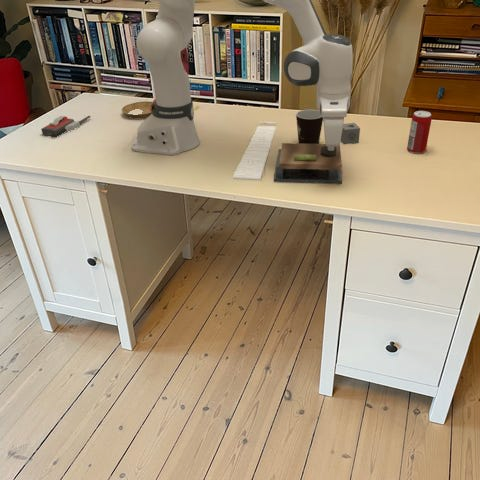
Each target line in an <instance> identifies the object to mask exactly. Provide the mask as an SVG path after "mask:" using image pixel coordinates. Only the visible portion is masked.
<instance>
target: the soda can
mask: <svg viewBox="0 0 480 480" xmlns="http://www.w3.org/2000/svg"><path fill="white" fill-rule="evenodd" d="M432 119H433V118H432V114H431V112H429V111H425V110H417V111H415V112H413V115H412V118H411V123H410V129H409V134H408V141H407V146H406V149H407V150H408V152H409V153H412V154H417V155H418V154H419V155H420V154H422V153H425V152H426V150H427V146H428V141H429V134H430V131H431V124H432Z"/></svg>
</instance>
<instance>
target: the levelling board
mask: <svg viewBox="0 0 480 480" xmlns="http://www.w3.org/2000/svg"><path fill="white" fill-rule="evenodd" d="M280 149H281V155H280V161H279V169H324V170H342V167H343V163H342V161H343V160H342V152H341V151H342V150H341V144H340V145H339V146H334V150H333V151H329V150H328V146H326V144H325V143H319V144H299V142H298V143H295V142H294V143H291V142H290V143H289V142H287V143H285V142H282V143H281V148H280Z"/></svg>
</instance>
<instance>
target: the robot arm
mask: <svg viewBox="0 0 480 480" xmlns="http://www.w3.org/2000/svg"><path fill="white" fill-rule="evenodd" d="M262 1H263V2H265V3H267V4H269V5H273V6H276V7H279V8H281V9H283V10H285V11H286V12H287V13H288V14H289V15H290V16H291V18H292V19H293V22H294V24H295V26H296V28H297V30H298V32H299V34H300V37H301V39H302V42H303V45H302V46H299V47H297V48H295V49H293V50H292V51H290V52H289V53H288V54H287V55H286V57H285V58H284V62H283V73H284V75H285V77H286V79H287V80H288V82H290V83H291V84H292V85H294V86H298V87H308V86H313V85H314V86H316V105H315V106H316V108H317V110H318V111H320V113H321V117H323V122H322V123H323V130H324V131H323V132H324V142H325V143H324V144H326V146H328V150H329V151H333V150H334V146H339V145H340V146H341V136H342V130H343V124H345V118H346V117H347V114H348V111H349V108H350V106H351V105H350V104H351V95H352V85H351V78H352V74H353V66H354V65H353V64H354V62H353V60H354V59H353V58H354V55H353V45H352V41H351V40H350V39H349V38H348V37H346V36H344V35H342V34H337V33H335V34H333V33H327V32H326V30H325V28H324V26H323V24H322V21H321V20H320V18H319V16H318V13H317V11H316V7H315V6H314V4H313V1H312V0H262ZM195 6H196V0H158V9H157V11H158V12H157V15H156V17H155V19H154V20H152V21H150V22H148V23H147V24H145V25H144V26H143V27H142V28H141V30H140V31H139V33H138V35H137V37H136V42H135V43H136V49H137V51H138V54H139V55H140V57H142V59H143V60H145V62H146V64H147V66H148V70H149V72H150V75H151V79H152V83H153V90H154V96H155V97H154V99H153V100H152V101H151V102H152V105H151V107H150V112H152V114H151V115H150V116H149V117H148V118H145V119H144V120H143V121H142V122H141V123H140V124H139V126H138V128H137V134H136V137H135V138H134V139H133V140H132V142H131V145H130V146H131V150H132V152H139V153H148V154H150V153H151V154H157V155H158V154H159V155H167V156H175V155H177V154H180V153H182V152H186V151H189V150H192V149H194V148H197V147H198V146H199V144H200V143H201V140H200V137H199V136H198V132H197V129H196V124H195V121H194V120H195V119H194V117H195V111H194V110H195V108H194V101H193V100H192V96H191V85H190V77H189V74H188V72H186V70H185V67H184V65H183V61H182V57H181V51H183V50H185V49H186V48H187V47H188V46H189V44H190V43H191V41H192V39H193V35H194V27H193V25H194V14H195Z"/></svg>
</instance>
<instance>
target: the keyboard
mask: <svg viewBox="0 0 480 480" xmlns="http://www.w3.org/2000/svg"><path fill="white" fill-rule="evenodd" d="M259 123H260V124H261V123H265V124H278V122H276V121H275V122H274V121H259ZM276 128H277V126H275V125H273V126H272V125H258V126H257V128H256V129H255V132H254V134H253V136H252V137H251V140H250V141H249V143H248V146H247V147H246V150H245V151H244V153H243V155H242V158H240V159H241V160H240V162H239V164H238V166H237V168H236V170H235V172H234V173H233V177H232V179H233V180H241V181H243V180H244V181H245V180H246V181H262V178H263V175H264V171H265V168H266V164H267V160H268V157H269V152H270V150H271V149H270V148H271V146H272V142H273V139H274V135H275V131H276Z"/></svg>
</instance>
